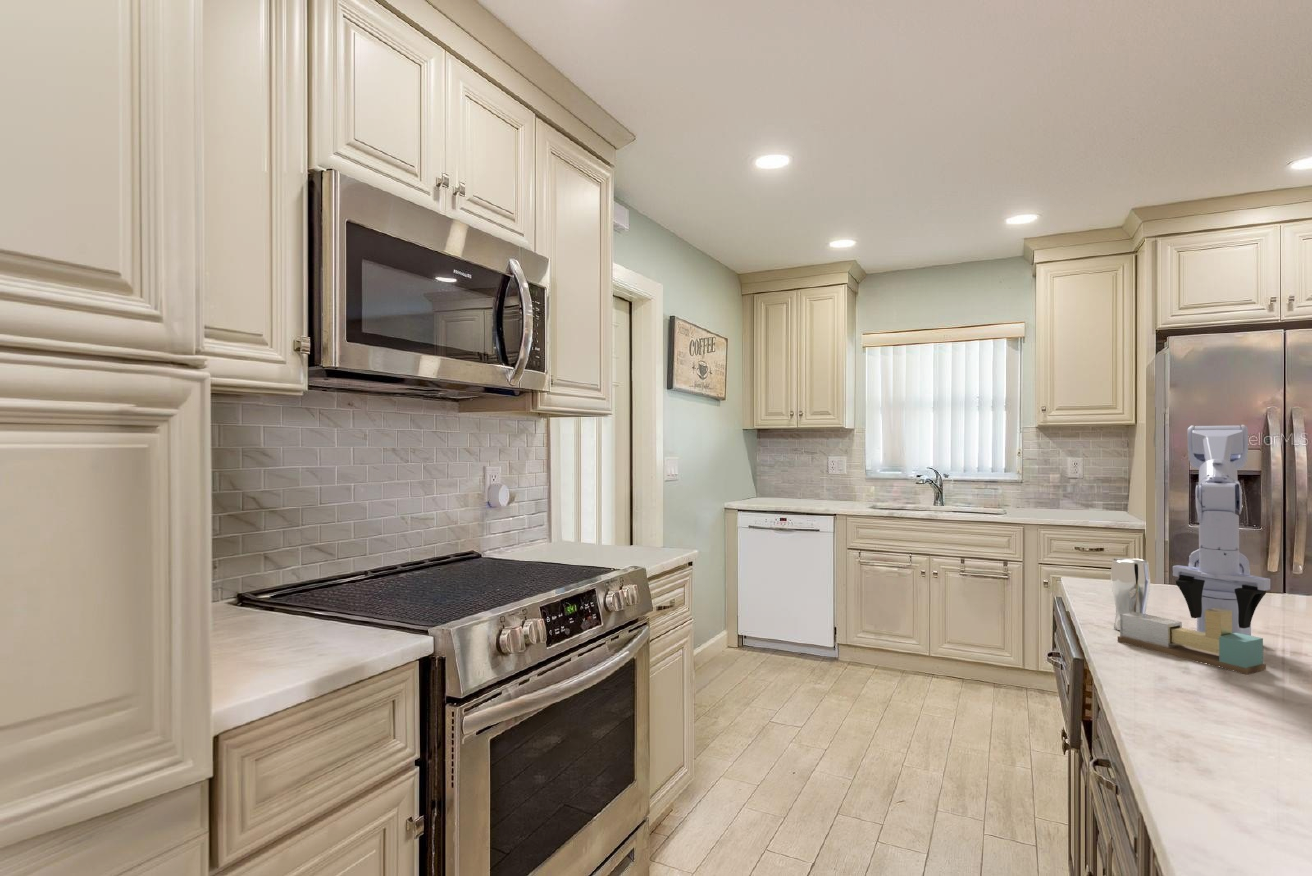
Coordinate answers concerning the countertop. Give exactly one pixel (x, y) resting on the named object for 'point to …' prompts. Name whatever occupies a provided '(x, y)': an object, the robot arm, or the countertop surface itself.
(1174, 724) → the countertop surface
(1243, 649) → the teal rectangular block
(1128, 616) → the white rectangular block
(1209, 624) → the wooden l-shaped block
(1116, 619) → the beer glass
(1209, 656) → the board
